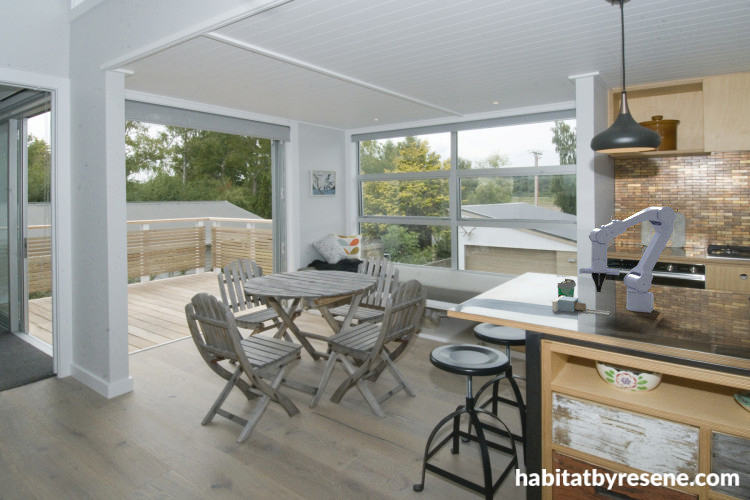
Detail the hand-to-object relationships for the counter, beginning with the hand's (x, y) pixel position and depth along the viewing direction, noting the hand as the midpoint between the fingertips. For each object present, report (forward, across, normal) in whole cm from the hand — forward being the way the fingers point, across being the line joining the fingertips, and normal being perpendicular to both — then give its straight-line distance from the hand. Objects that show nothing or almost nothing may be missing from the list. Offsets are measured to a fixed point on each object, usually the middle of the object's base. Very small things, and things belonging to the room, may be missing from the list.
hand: (598, 291), depth 189 cm
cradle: (+9, 0, +3) cm, 10 cm away
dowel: (+8, +9, +2) cm, 12 cm away
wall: (+9, +15, 0) cm, 18 cm away
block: (+9, +11, +1) cm, 15 cm away
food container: (+10, +13, -16) cm, 23 cm away
